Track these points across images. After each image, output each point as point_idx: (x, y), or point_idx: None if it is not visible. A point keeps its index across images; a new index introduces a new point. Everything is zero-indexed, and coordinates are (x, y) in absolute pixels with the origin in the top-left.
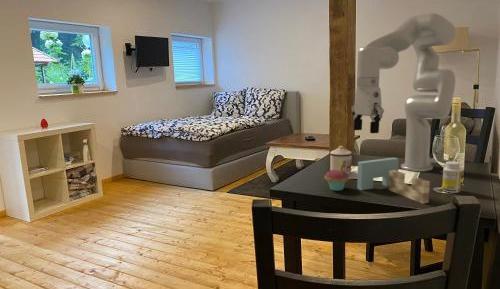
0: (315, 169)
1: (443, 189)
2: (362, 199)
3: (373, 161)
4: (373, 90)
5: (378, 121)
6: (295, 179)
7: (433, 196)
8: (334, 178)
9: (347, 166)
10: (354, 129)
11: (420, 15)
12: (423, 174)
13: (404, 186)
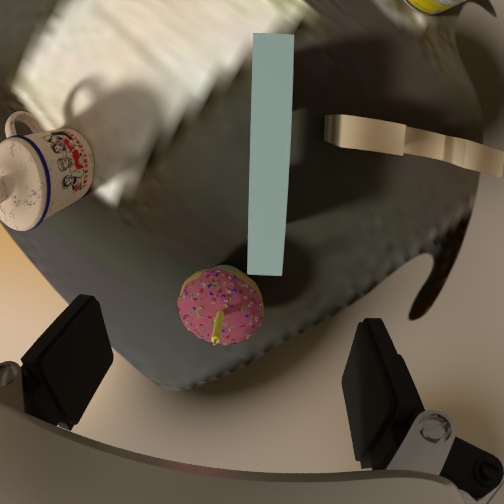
0: None
1: (416, 10)
2: (351, 279)
3: (280, 202)
4: None
5: (430, 426)
6: None
7: (438, 77)
8: (250, 335)
9: (76, 164)
10: (108, 361)
11: None
12: None
13: (413, 153)
